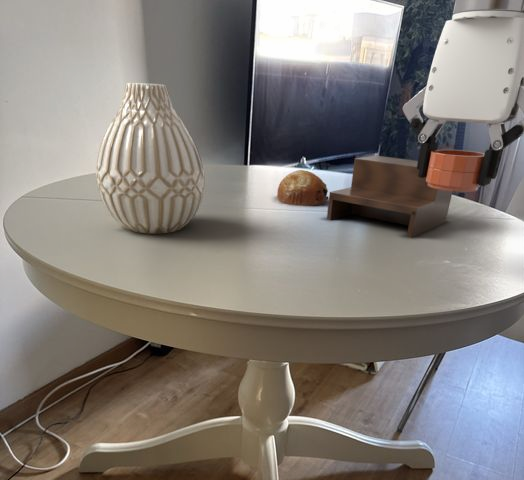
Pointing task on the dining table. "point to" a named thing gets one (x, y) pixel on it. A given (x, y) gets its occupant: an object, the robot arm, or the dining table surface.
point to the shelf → (391, 195)
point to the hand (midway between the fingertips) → (453, 179)
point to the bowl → (454, 170)
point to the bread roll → (302, 189)
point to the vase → (149, 164)
